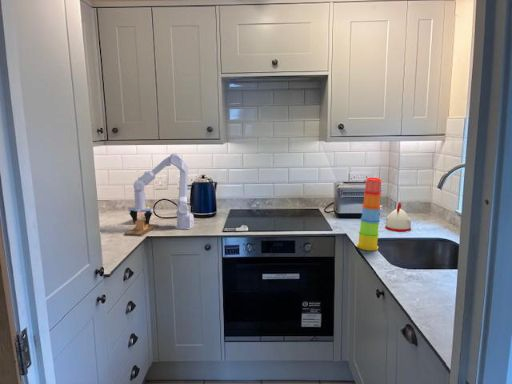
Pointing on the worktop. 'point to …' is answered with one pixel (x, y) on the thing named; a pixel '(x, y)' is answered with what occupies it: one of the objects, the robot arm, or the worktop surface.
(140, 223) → the orange cube
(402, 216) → the cream dome
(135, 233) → the walnut board
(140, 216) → the candy box
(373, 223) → the stacking cups
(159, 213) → the worktop surface
